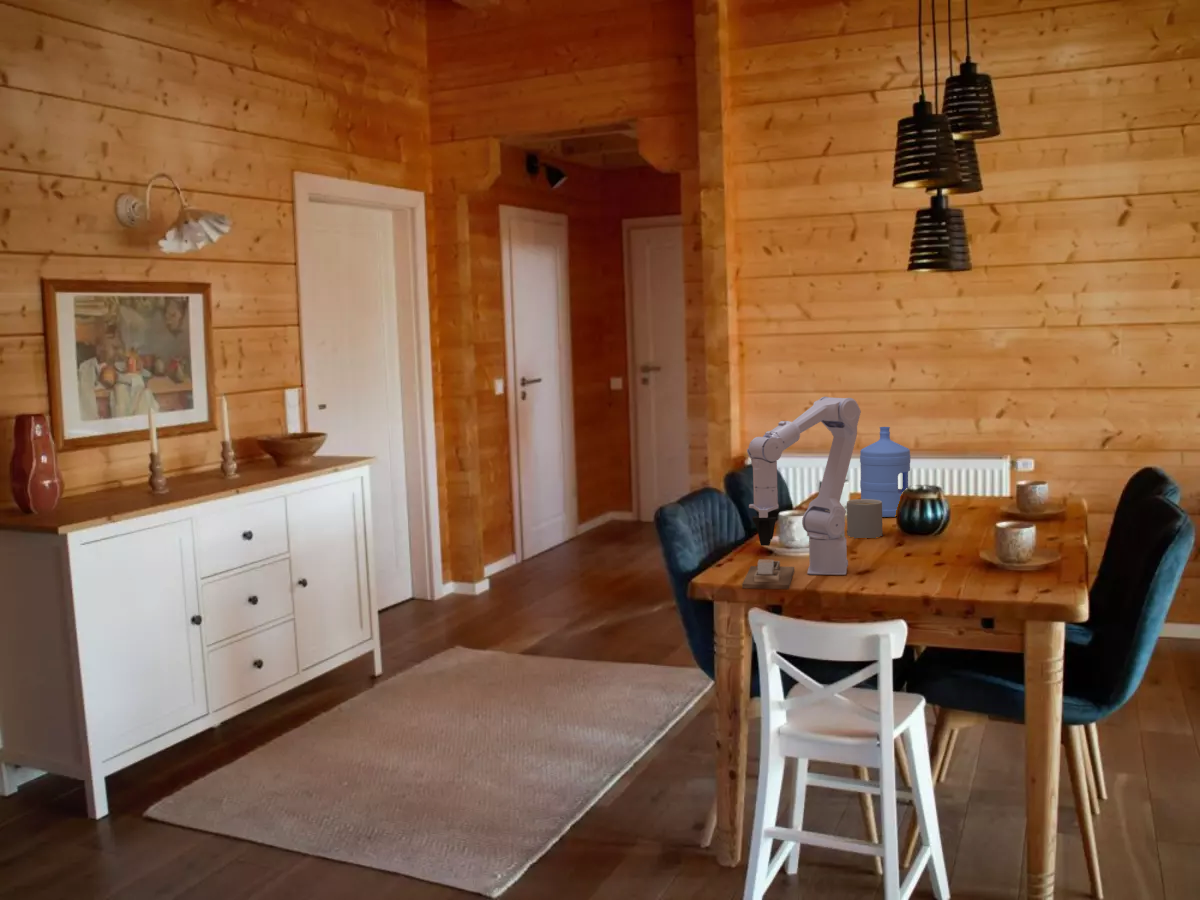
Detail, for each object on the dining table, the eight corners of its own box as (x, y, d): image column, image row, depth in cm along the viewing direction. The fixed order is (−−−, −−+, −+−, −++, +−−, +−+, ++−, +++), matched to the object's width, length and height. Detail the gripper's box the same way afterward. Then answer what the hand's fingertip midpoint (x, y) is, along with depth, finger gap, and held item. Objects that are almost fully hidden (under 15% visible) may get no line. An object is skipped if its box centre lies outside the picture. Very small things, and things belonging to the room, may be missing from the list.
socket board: (794, 570, 290) (794, 560, 289) (788, 589, 270) (788, 578, 270) (750, 569, 292) (750, 560, 292) (742, 588, 273) (742, 577, 273)
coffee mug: (879, 539, 325) (878, 505, 324) (844, 538, 329) (843, 504, 328) (887, 531, 337) (886, 497, 336) (853, 529, 341) (852, 496, 340)
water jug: (865, 519, 358) (864, 430, 355) (856, 510, 373) (855, 425, 370) (916, 517, 357) (915, 428, 354) (904, 509, 373) (903, 424, 370)
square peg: (773, 577, 278) (773, 559, 278) (772, 580, 275) (772, 562, 274) (759, 577, 279) (758, 559, 278) (758, 580, 276) (757, 562, 275)
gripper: (751, 482, 282) (753, 536, 284) (745, 491, 268) (746, 548, 270) (780, 482, 281) (781, 536, 282) (775, 491, 266) (777, 548, 268)
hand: (766, 542), depth 276 cm, fingers open, 7 cm apart
